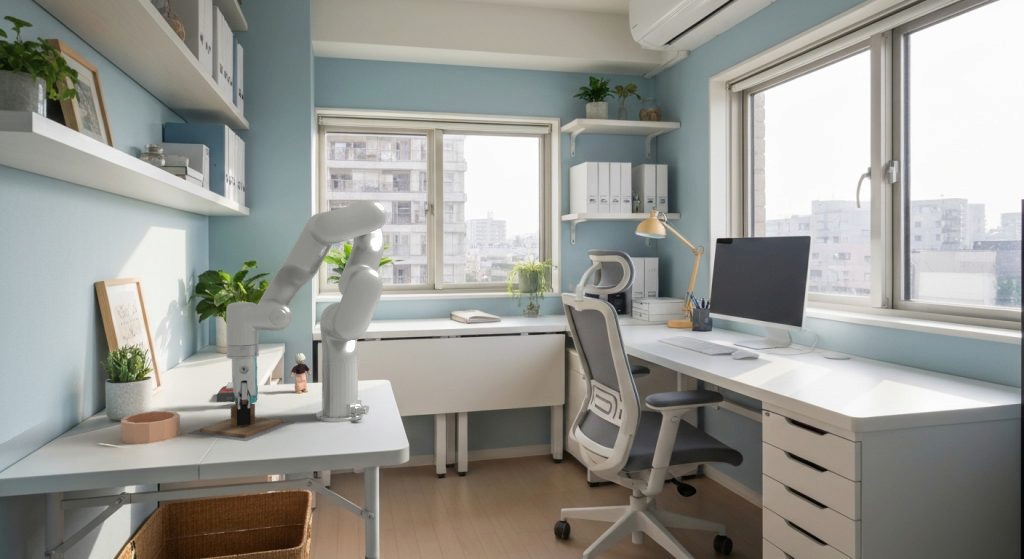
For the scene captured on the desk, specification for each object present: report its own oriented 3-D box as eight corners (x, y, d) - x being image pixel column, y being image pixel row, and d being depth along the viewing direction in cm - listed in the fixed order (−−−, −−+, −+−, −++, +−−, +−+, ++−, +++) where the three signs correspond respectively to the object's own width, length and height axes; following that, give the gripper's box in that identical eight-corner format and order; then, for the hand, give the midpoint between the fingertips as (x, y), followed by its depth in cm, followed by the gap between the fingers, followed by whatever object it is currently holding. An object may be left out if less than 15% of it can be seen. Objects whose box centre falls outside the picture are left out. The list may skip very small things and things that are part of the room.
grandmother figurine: (303, 389, 210) (303, 351, 210) (312, 390, 209) (312, 352, 208) (286, 394, 203) (286, 354, 203) (295, 395, 202) (295, 355, 201)
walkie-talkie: (246, 402, 192) (253, 389, 212) (246, 388, 192) (253, 375, 211) (215, 404, 190) (225, 390, 209) (215, 389, 190) (224, 377, 209)
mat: (295, 423, 168) (295, 422, 168) (246, 442, 151) (246, 441, 151) (240, 417, 174) (240, 415, 174) (187, 434, 157) (187, 433, 157)
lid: (283, 423, 167) (283, 401, 167) (245, 437, 154) (245, 414, 153) (240, 418, 171) (240, 397, 171) (199, 431, 158) (199, 408, 158)
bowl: (190, 433, 158) (190, 413, 158) (148, 447, 147) (148, 425, 146) (153, 428, 162) (153, 409, 162) (109, 441, 150) (109, 420, 150)
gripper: (261, 355, 156) (261, 428, 156) (255, 345, 171) (256, 412, 172) (227, 357, 152) (228, 431, 153) (225, 347, 168) (225, 415, 169)
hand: (242, 420), depth 163 cm, fingers closed on lid, 5 cm apart
